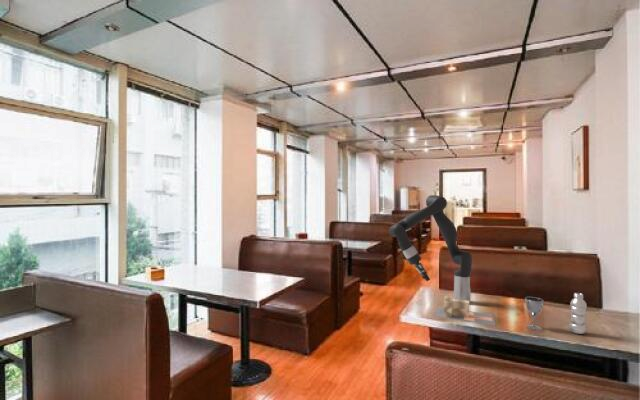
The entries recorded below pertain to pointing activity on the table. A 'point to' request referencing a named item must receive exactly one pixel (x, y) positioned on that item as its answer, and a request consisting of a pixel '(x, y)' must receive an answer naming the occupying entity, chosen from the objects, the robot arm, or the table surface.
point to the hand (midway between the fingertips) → (426, 279)
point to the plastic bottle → (578, 314)
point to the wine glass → (534, 309)
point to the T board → (473, 317)
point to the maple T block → (455, 307)
